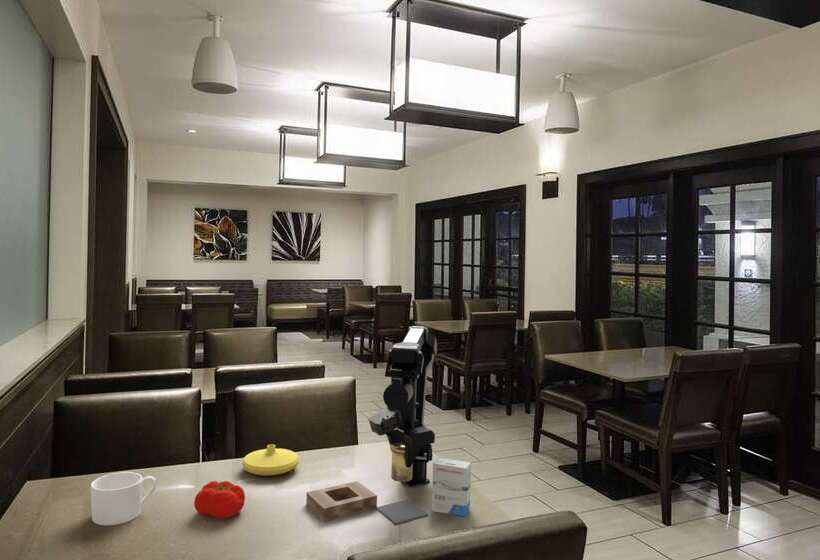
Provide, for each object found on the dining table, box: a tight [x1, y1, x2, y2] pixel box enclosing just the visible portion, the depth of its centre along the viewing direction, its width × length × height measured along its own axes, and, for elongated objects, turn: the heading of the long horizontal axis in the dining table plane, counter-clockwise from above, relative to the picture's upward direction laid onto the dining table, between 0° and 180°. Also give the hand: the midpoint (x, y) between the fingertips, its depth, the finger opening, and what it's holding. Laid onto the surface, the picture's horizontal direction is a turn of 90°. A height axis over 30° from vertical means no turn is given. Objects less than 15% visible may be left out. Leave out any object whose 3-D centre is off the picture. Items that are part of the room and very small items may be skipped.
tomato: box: [193, 480, 246, 519], centre depth 131 cm, size 10×11×6 cm
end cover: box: [389, 441, 413, 483], centre depth 133 cm, size 6×6×8 cm
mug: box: [90, 471, 157, 526], centre depth 128 cm, size 13×10×8 cm
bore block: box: [306, 480, 378, 522], centre depth 136 cm, size 14×10×3 cm
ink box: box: [431, 457, 472, 518], centre depth 136 cm, size 8×5×12 cm, turn 71°
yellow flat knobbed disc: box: [241, 444, 300, 477], centre depth 157 cm, size 16×16×7 cm
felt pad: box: [375, 498, 429, 525], centre depth 134 cm, size 9×9×1 cm
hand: (402, 463), depth 133 cm, fingers closed on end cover, 5 cm apart
